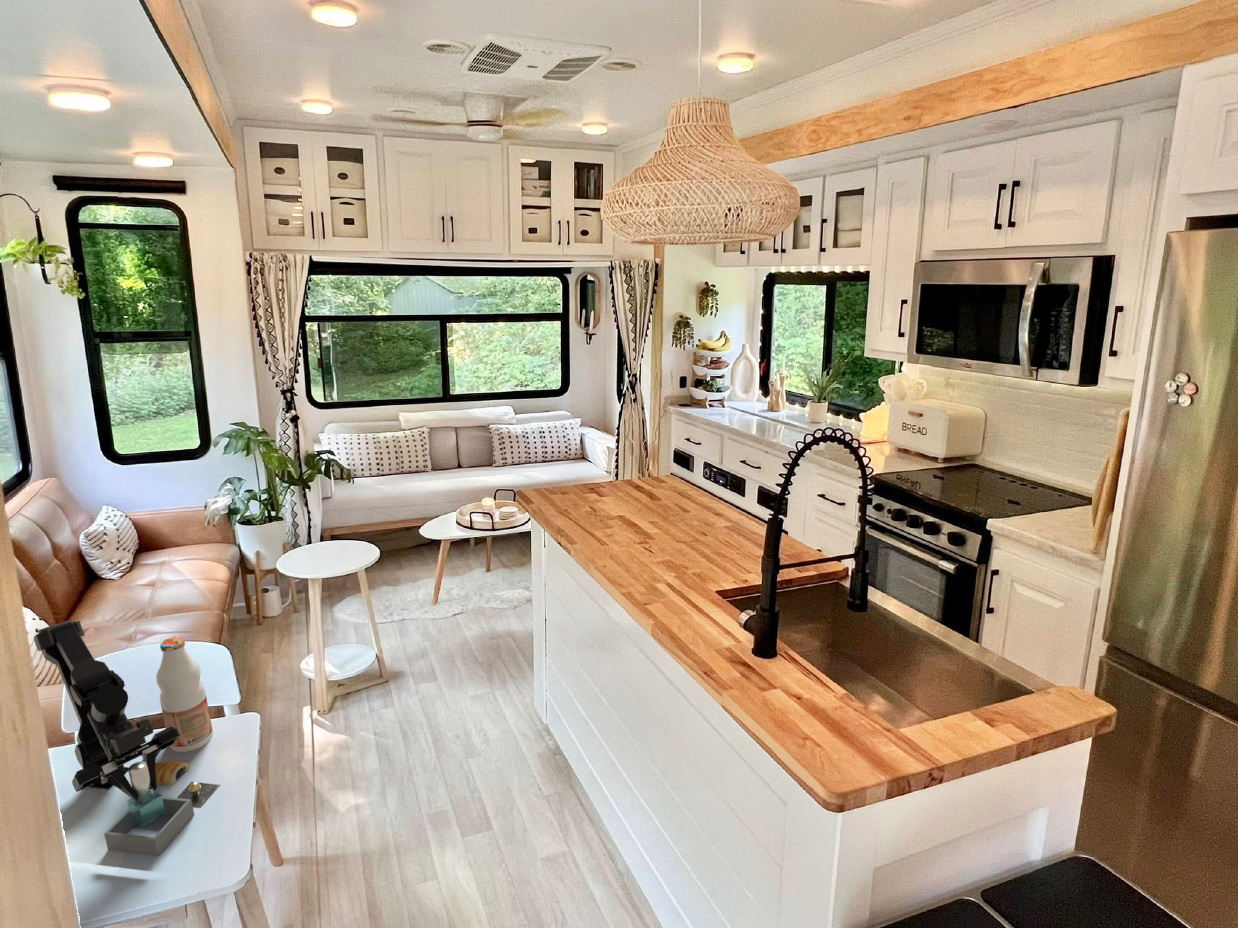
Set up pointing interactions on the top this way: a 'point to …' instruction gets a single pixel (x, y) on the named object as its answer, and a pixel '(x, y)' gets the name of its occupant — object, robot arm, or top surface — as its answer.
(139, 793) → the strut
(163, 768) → the pastry
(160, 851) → the bin
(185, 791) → the stud stand
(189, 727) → the fruit juice
